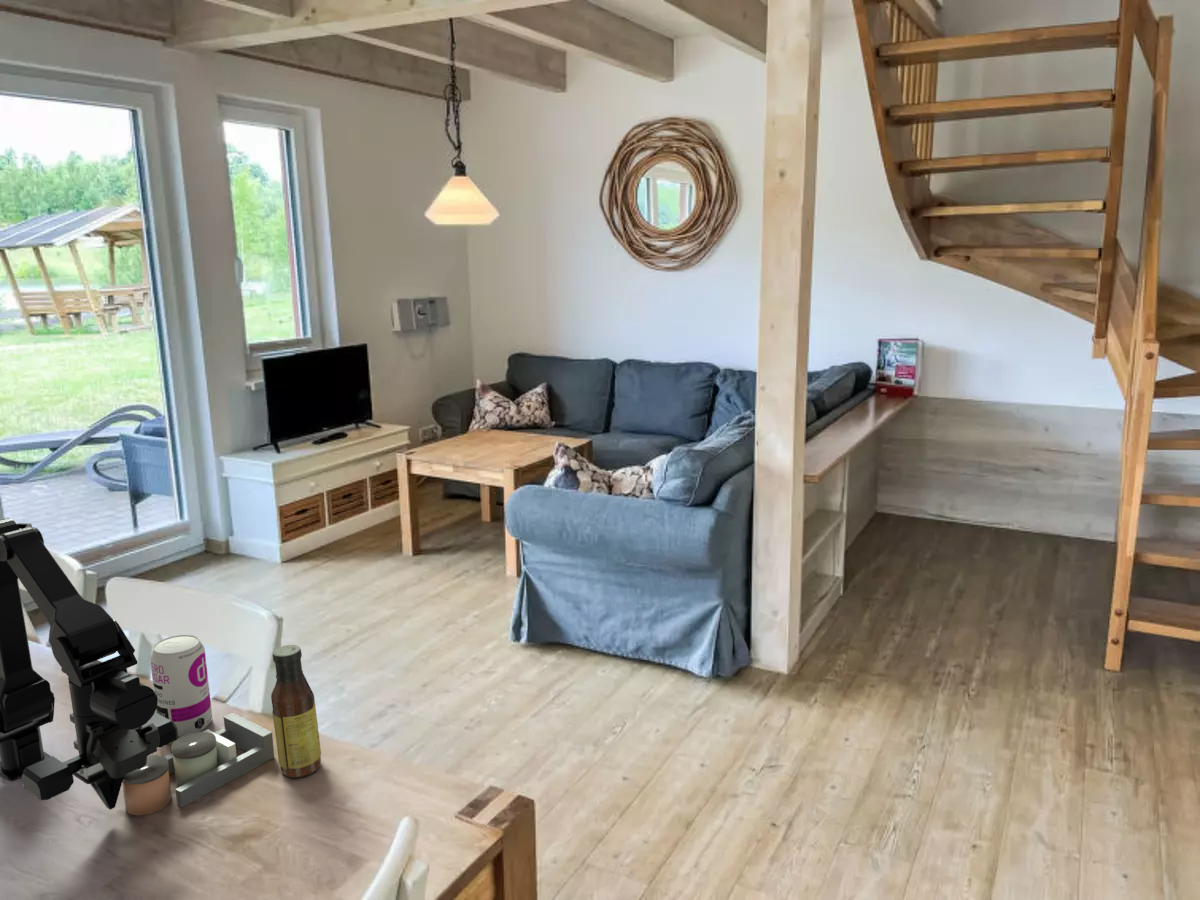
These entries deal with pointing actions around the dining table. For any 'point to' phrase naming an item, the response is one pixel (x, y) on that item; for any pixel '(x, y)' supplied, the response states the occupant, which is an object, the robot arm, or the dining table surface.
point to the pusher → (224, 749)
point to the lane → (245, 738)
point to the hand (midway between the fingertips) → (110, 807)
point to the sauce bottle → (294, 715)
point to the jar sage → (194, 756)
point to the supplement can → (181, 682)
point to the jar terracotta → (147, 787)
